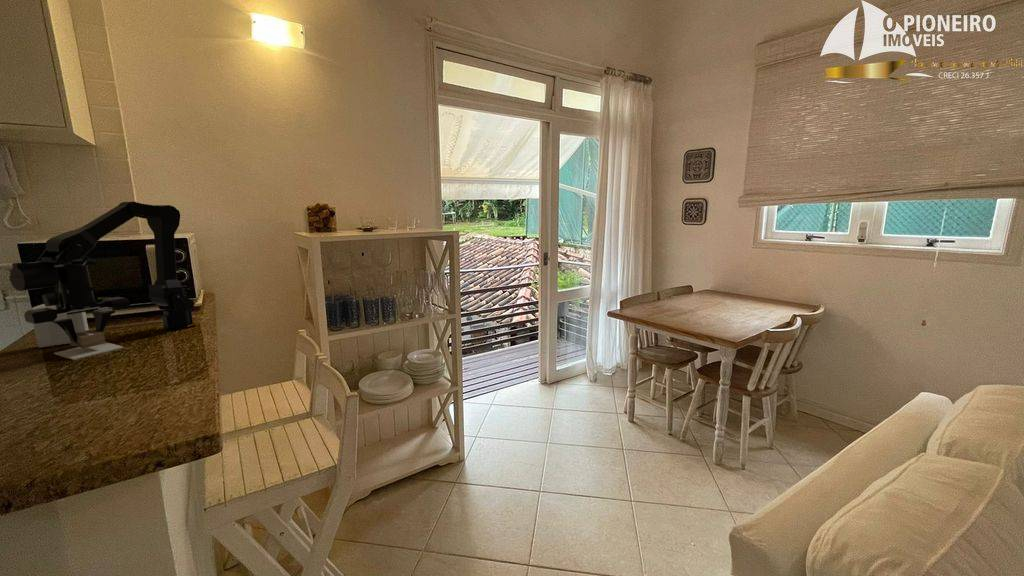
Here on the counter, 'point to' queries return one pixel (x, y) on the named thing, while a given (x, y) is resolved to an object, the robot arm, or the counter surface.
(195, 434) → the counter surface
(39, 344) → the photo printer
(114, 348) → the mat
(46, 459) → the counter surface
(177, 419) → the counter surface
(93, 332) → the ridged brown block
